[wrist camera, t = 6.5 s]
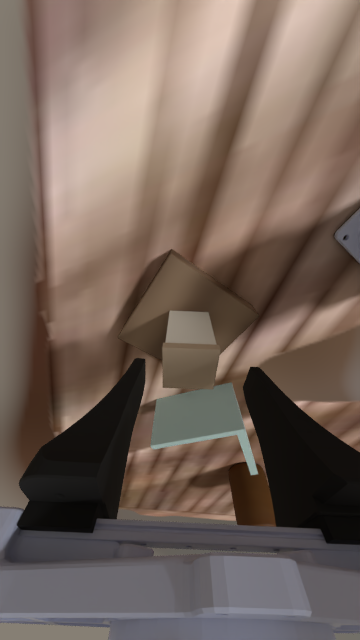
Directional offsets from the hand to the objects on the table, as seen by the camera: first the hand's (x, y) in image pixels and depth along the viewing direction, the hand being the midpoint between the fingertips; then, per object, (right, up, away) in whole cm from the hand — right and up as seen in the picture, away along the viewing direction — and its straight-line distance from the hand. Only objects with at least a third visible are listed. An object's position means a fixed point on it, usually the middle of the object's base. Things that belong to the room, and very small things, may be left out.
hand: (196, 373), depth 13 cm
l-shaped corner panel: (+3, -12, +20) cm, 23 cm away
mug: (+15, -29, +29) cm, 44 cm away
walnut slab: (0, +4, +10) cm, 11 cm away
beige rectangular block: (0, +3, +8) cm, 8 cm away
